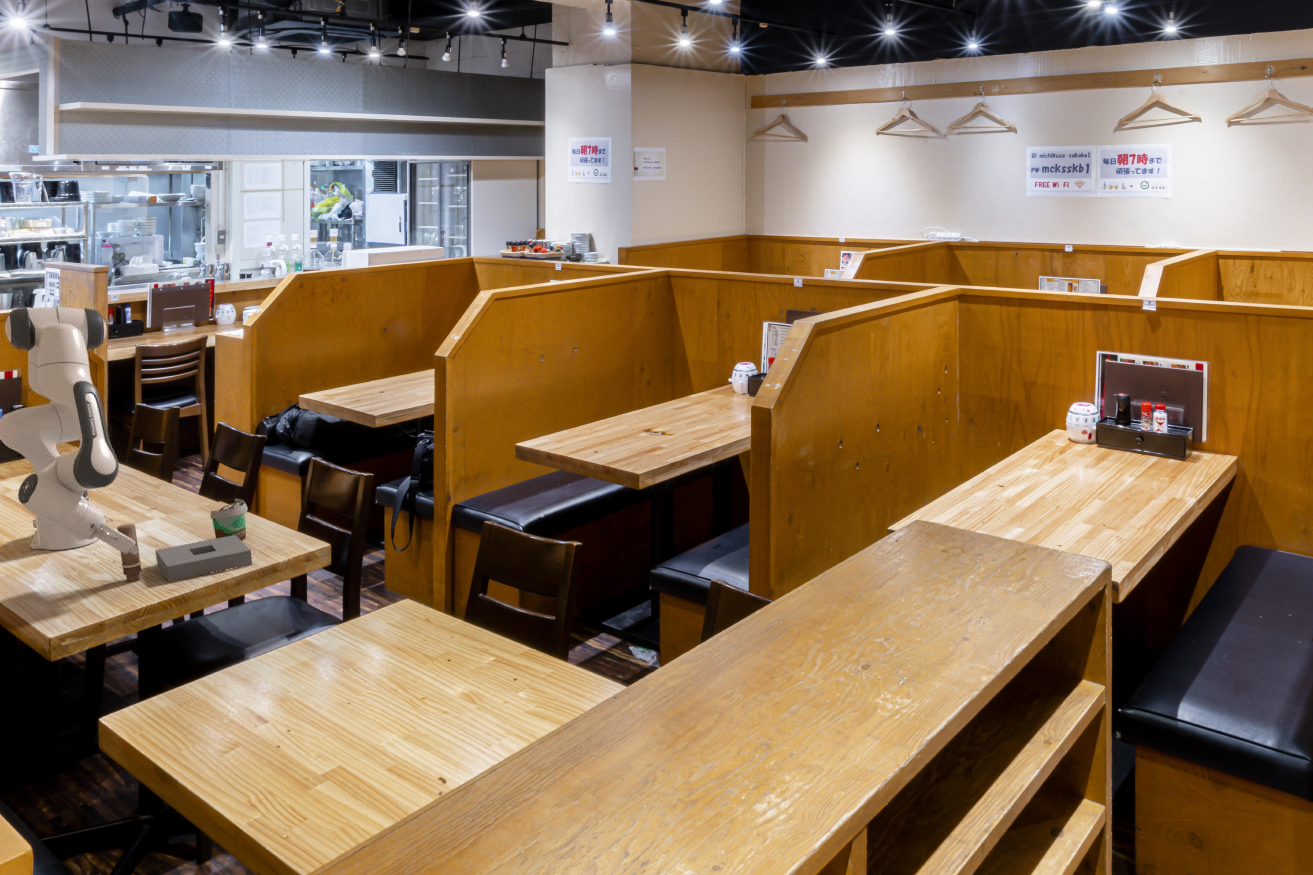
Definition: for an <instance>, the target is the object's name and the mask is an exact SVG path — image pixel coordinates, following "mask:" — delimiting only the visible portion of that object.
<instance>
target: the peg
mask: <svg viewBox="0 0 1313 875" xmlns="http://www.w3.org/2000/svg"><path fill="white" fill-rule="evenodd" d="M116 530H117V531H119V532H120V533H122V534H124V535H126V536H127V537H129V538H131V539H132V540H134V541H135V545H134V546H135V547H137V548H139V545H138V535H137V531H136V525H135V524H134V523H126V524H122V525H119V526H117V528H116ZM139 551H140V550H139ZM139 551H138V553H137V554H136V555H134V554H132V553H130V552H129V553H128V554H125V553H123V552H121V551H119V552H120V557H121V558H120V559H121V567H122V572H123V575H124V576H125V577H126V582H127V583H133V582H137V581H140V580H141V575H140V573H141V572H142V566H141V564H142V563H141V560H140V558H141V557H140V552H139Z"/></svg>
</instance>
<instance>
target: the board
mask: <svg viewBox="0 0 1313 875" xmlns="http://www.w3.org/2000/svg"><path fill="white" fill-rule="evenodd" d="M155 558H156V565H157V566H158V567H159V569H160V571H161V572H162V574H164V576H165V578H166V580H167V581H168V582H170V583H171V582H175V581H180V580H184V579H185V578H186V579H189V578H194V577H195V578H196V577H199V576H204V575H203V574H205V575H208V574H207V573H210V574H212V573H211V572H215V573H217V572H216V571H219V572H221V571H220V570H224V571H227V570H226V569H229V570H231V569H230V568H234V569H236V568H235V567H239V568H242V567H241V566H244V567H248V566H253V560H252V559H253V558H252V549H250V548H249V547H248V546H247V545H246V544H245V543H244V542H243V540H242V541H241V540H240V539H239V538H238V537H237V536H236V535H232V536H227V537H222V538H216V537H215V538H212V539H206V540H202V541H197V542H190V543H186V544H181V545H175V546H170V547H165V548H159V549H155ZM247 565H248V566H247Z"/></svg>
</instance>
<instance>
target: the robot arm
mask: <svg viewBox="0 0 1313 875" xmlns="http://www.w3.org/2000/svg"><path fill="white" fill-rule="evenodd" d="M4 330H5V335H6V338H7V339H8V341H9V345H12V347H14V348H15V349H18V350H22V351H28V354H27V355H28V356H27V358H28V359H27V361H28V363H27V365H28V366H27V367H28V368H27V370H28V373H27V375H28V376H27V377H28V380H27V381H28V385H29V387H30V389H31V390H32V392H33V391H34V393H36V394H37V395H39V396H42V397H44V398H47V399H49V401H50V402H49V403H47V404H40V405H35V406H30V407H29V406H28V407H23V408H19V409H16V410H13V411H11V412H8V413H6V414H3V415H2V417H0V440H1V442H2V443H3V444H4V446H6V447H8V448H9V449H11V450H14V451H15V452H17V453H19V454H21V455H22V456H23V457H24V458H25V459H26V460H28V462H29V463H30V465H31V467H32V468H33V472H34V473H31V474H29V475H28V476H27V477H25V479H24V480H22V483H21V484H20V486H19V489H18V494H17V500H18V501H19V502H20V504H21V506H23V507H24V508H25V509H26V510H27V511H29V512H30V513H32V514H33V515H35V516H36V518H35V519H33V520H32V527H33V528H34V529H35V531H34V532H35V534H34V536H33V538H32V540H31V543H30V549H31V548H32V549H31V550H52V551H56V550H57V551H59V550H68V549H69V550H70V549H75V548H79V547H84V546H86V545H90V544H92V543H94V542H96V541H98V540H100V541H101V542H103V543H105V544H107V545H108V546H110V547H112V548H114V549H116V550H118V551H119V552H120V551H121V552H123V553H125V554H128V553H129V552H130V553H132V554H134V555H136V554H137V553H138V551H140V549H139V547H138V548H137V547H135V546H134V545H135V541H134V540H132V539H131V538H129V537H127V536H126V535H124V534H122V533H120V532H119V531H117V529H116V528H114V527H112V526H110V525H108V524H106V523H107V518H106V517H105V510H103V508H101V507H99V506H98V505H95V504H94V503H93V502H91V501H90V500H89V493H88V490H93V489H94V490H95V489H99V488H100V489H101V488H104V487H107V486H110V485H111V484H112V483H113V482H114V481H115V480H116V479H117V477H118V474H119V468H120V465H119V460H118V457H117V455H116V453H115V450H114V448H113V447H112V443H111V439H110V437H109V435H110V434H109V431H108V426H107V423H106V422H107V421H106V416H105V411H104V407H103V403H102V399H101V396H100V393H99V391H98V389H97V387H96V386H95V385H94V383H93V380H92V376H91V372H90V361H89V360H90V359H89V354H88V351H90V350H94V349H98V348H100V347H101V346H102V345H103V344H104V340H105V339H106V335H107V324H106V321H105V319H104V317H103V315H102V314H101V313H100V312H99V311H98V310H95V309H92V308H88V307H87V308H78V307H77V308H76V307H66V306H55V307H51V306H50V307H49V306H47V307H31V308H27V307H21V308H15V309H12V310H11V311H10V312H9V313H8V316H7V318H6V320H5V326H4ZM74 441H79V446H78V449H77V450H75V451H72V452H67V453H64V454H61V453H59V452H58V449H57V445H59V444H64V443H69V442H74ZM121 552H120V553H121Z"/></svg>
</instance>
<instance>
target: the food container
mask: <svg viewBox="0 0 1313 875" xmlns="http://www.w3.org/2000/svg"><path fill="white" fill-rule="evenodd" d="M248 510H249V509H248V506H247V504H246V502H245V500H243V499H239V498H234V502H233V503H231V504H228V505H224V506H222V507H220V509H217V510H211V511H210V519H211V520H212V524H213V525H212V526H213V530H214V535H215V539H216V538H222V537H227V536H232V535H236V536H237V537H238V538H239V539H240V540H241V541H242V542H243V541H244V540H245V539H246V538H247V535H246V534H247V533H246V532H247V530H246V512H247V511H248Z"/></svg>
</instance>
